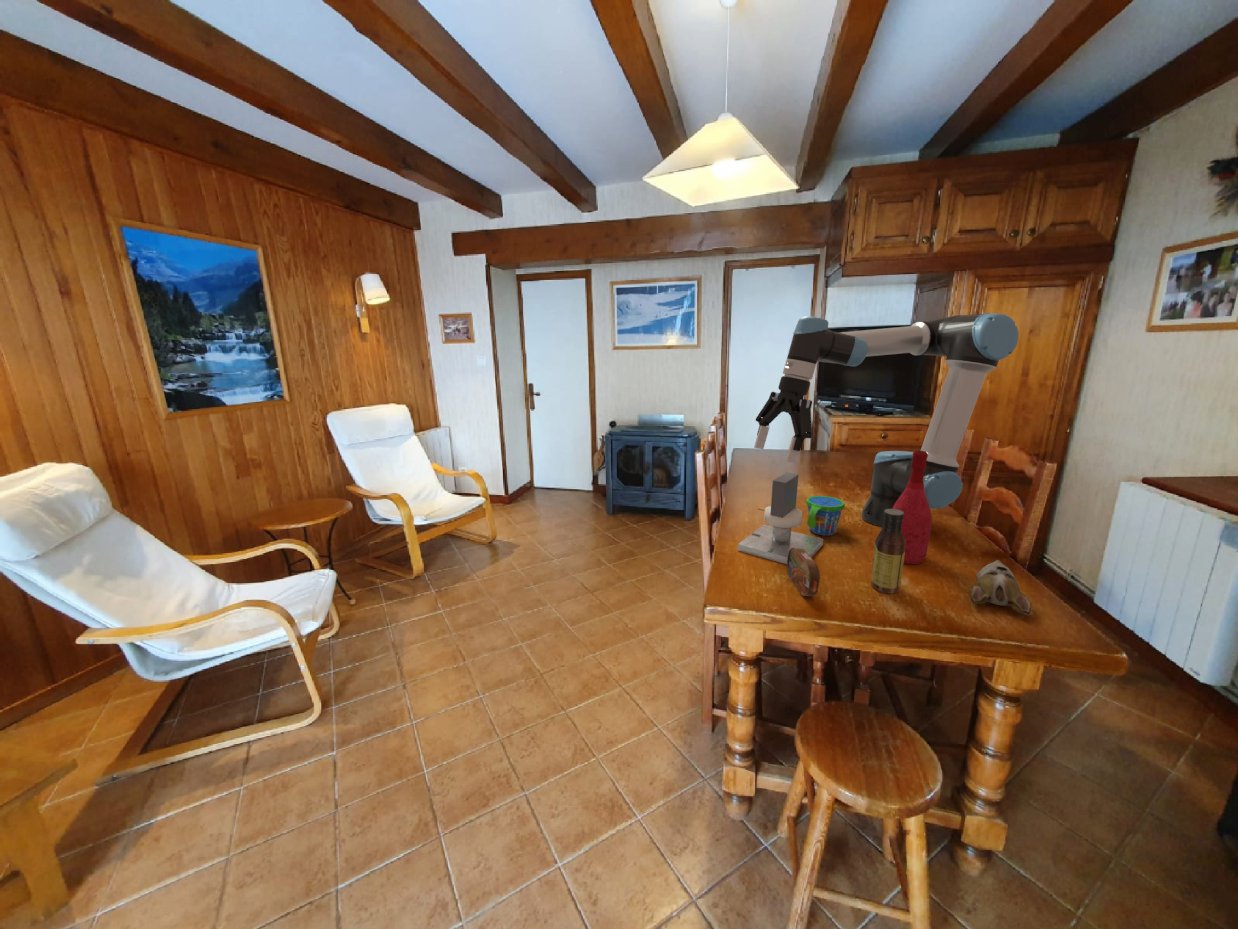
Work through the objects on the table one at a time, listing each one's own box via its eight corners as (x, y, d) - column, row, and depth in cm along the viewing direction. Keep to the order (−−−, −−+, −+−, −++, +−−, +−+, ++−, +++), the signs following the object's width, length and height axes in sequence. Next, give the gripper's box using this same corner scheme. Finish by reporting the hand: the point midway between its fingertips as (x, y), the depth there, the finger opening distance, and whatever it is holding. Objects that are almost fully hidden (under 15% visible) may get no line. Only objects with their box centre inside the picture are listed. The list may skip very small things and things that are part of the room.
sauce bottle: (883, 579, 116) (894, 504, 111) (906, 592, 110) (918, 513, 105) (863, 584, 114) (873, 508, 109) (884, 597, 108) (896, 517, 103)
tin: (785, 571, 121) (787, 541, 119) (797, 571, 121) (800, 541, 119) (805, 603, 107) (809, 570, 104) (819, 603, 106) (823, 570, 104)
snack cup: (822, 520, 153) (825, 491, 151) (852, 531, 145) (856, 500, 142) (791, 532, 145) (794, 501, 142) (822, 543, 137) (825, 511, 134)
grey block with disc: (806, 519, 133) (810, 476, 130) (794, 530, 126) (797, 485, 122) (764, 510, 141) (766, 469, 137) (750, 520, 133) (752, 477, 130)
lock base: (822, 545, 136) (825, 519, 134) (801, 568, 122) (804, 540, 120) (763, 530, 147) (764, 506, 145) (737, 550, 133) (739, 524, 131)
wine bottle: (890, 546, 134) (904, 445, 126) (930, 557, 127) (948, 450, 119) (878, 558, 127) (893, 451, 119) (920, 569, 120) (938, 457, 113)
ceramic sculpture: (1029, 558, 107) (1039, 591, 95) (1021, 591, 109) (1030, 627, 97) (971, 548, 112) (974, 578, 101) (965, 580, 115) (968, 612, 103)
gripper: (756, 370, 132) (736, 441, 137) (820, 381, 110) (793, 466, 115) (777, 374, 135) (757, 445, 140) (843, 386, 113) (816, 469, 118)
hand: (773, 454), depth 128 cm, fingers open, 13 cm apart
